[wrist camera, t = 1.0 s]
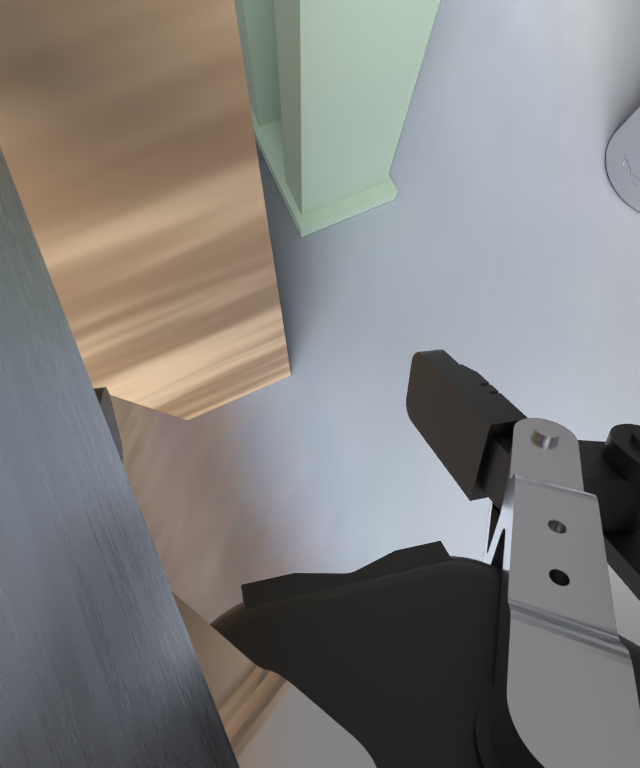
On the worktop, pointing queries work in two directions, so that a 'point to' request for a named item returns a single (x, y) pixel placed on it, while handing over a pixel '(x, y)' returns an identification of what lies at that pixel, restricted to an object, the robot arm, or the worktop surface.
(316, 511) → the worktop surface
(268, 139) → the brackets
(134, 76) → the wooden block
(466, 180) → the worktop surface
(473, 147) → the worktop surface
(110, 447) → the rail
